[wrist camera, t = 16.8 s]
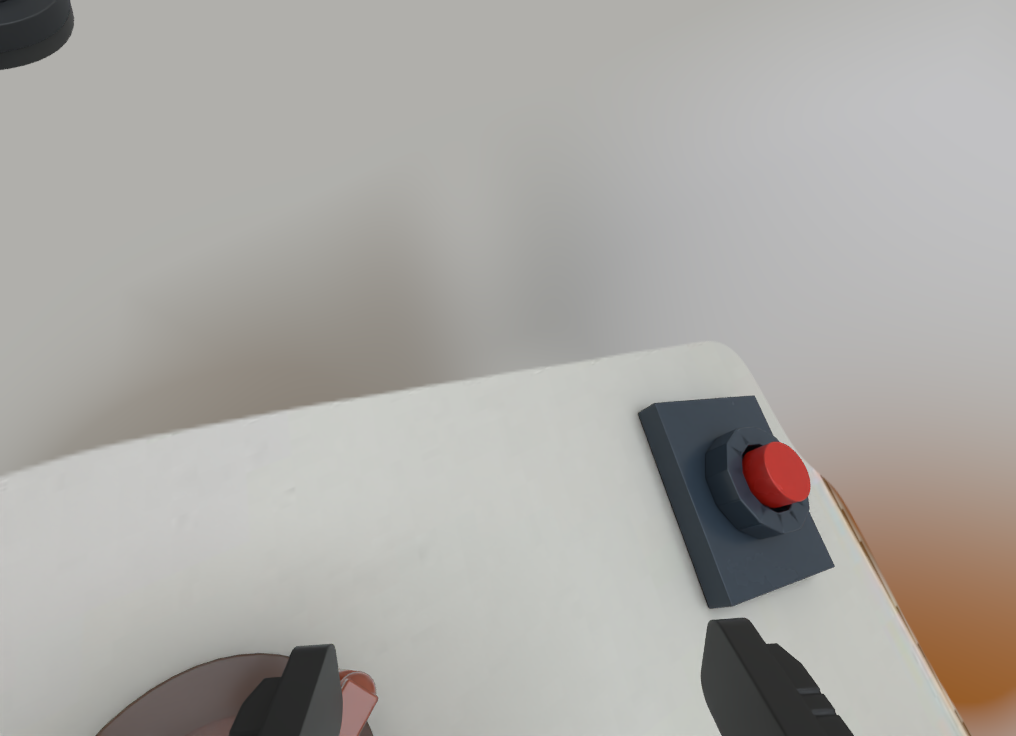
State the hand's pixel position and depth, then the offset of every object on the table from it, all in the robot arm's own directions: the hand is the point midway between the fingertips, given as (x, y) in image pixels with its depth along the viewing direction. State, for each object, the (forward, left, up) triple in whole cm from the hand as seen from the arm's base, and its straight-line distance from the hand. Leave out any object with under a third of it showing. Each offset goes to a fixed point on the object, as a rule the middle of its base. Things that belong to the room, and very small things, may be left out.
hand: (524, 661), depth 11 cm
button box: (-4, +23, -12) cm, 26 cm away
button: (-4, +23, -9) cm, 25 cm away
